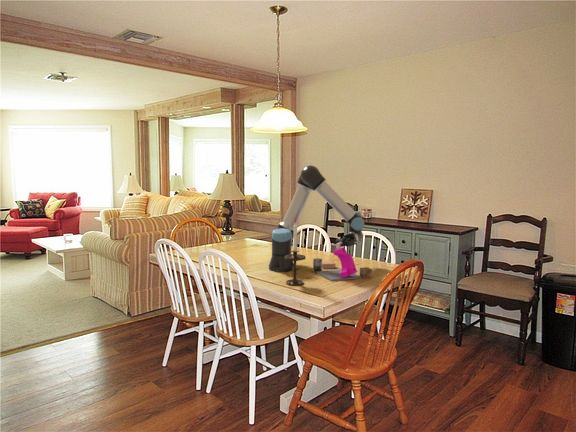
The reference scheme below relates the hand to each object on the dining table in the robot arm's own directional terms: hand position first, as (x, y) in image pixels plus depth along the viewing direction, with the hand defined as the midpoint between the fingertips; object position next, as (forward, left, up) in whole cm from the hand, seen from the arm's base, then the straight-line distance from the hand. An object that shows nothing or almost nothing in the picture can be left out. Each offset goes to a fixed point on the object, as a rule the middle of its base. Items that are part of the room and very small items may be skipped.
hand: (337, 246), depth 228 cm
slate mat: (+3, +3, -18) cm, 18 cm away
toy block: (+6, -1, -8) cm, 10 cm away
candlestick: (-26, -3, -18) cm, 32 cm away
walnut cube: (+15, -5, -18) cm, 24 cm away
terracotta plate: (+7, +23, -18) cm, 30 cm away
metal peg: (-3, +17, -18) cm, 25 cm away
